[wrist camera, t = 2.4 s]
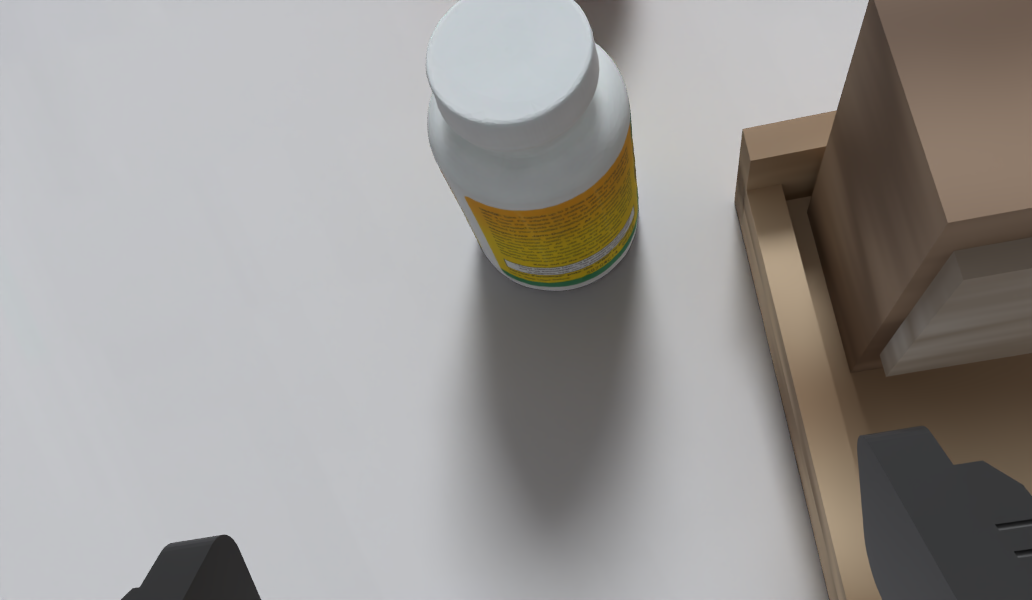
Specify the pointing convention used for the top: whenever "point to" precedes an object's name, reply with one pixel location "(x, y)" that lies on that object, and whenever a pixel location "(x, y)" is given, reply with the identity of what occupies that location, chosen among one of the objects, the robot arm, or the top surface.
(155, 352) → the top surface
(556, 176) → the supplement bottle
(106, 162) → the top surface
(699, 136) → the top surface
